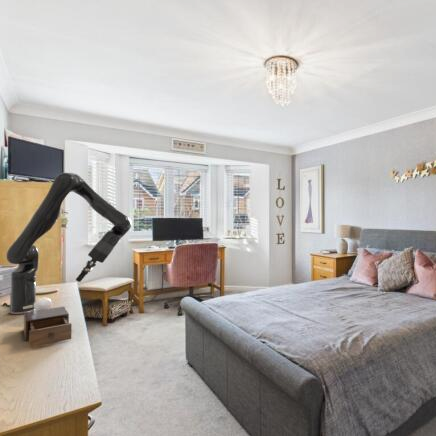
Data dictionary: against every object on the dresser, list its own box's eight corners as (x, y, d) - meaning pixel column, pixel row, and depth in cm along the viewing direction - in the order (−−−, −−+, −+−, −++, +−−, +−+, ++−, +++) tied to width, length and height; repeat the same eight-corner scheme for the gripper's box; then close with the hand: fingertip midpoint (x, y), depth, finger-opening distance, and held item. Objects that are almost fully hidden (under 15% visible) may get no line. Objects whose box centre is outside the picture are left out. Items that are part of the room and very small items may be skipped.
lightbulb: (54, 320, 143) (54, 296, 143) (38, 325, 137) (38, 300, 137) (46, 318, 145) (46, 295, 145) (30, 323, 140) (30, 298, 140)
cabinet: (68, 332, 129) (68, 313, 129) (25, 340, 120) (25, 321, 120) (64, 323, 140) (64, 306, 139) (23, 330, 130) (23, 312, 130)
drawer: (71, 339, 119) (71, 324, 119) (29, 348, 111) (29, 332, 111) (66, 329, 130) (66, 315, 130) (27, 337, 121) (27, 322, 121)
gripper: (94, 246, 159) (72, 274, 153) (93, 247, 146) (68, 277, 141) (108, 254, 162) (87, 282, 156) (108, 255, 149) (85, 285, 144)
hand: (78, 280), depth 149 cm, fingers open, 8 cm apart
